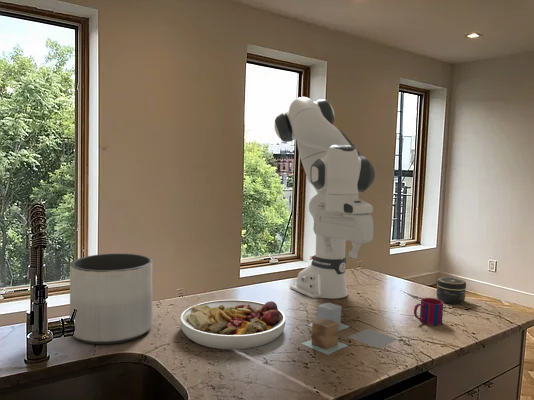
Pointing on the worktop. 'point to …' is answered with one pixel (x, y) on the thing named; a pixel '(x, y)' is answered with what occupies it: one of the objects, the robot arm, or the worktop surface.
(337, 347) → the code tile
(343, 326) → the code tile
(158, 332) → the worktop surface
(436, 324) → the mug
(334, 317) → the blue-grey block
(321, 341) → the walnut block
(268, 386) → the worktop surface
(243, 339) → the bowl
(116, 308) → the planter
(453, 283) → the jar
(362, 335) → the slate coaster
